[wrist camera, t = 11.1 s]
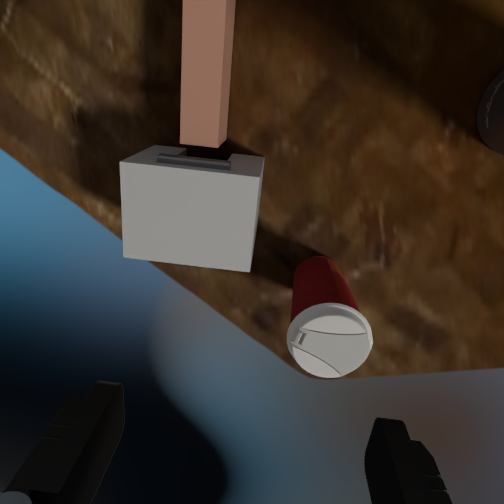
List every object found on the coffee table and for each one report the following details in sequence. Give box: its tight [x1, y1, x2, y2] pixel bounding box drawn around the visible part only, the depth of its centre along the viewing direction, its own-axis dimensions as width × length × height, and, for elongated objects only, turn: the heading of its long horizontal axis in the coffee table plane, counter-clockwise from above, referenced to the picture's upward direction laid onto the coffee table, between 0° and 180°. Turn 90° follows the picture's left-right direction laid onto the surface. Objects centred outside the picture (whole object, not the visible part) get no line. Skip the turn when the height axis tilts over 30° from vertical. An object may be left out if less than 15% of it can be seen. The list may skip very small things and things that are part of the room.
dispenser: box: [120, 145, 265, 272], centre depth 39 cm, size 12×10×10 cm
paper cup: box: [287, 256, 373, 378], centre depth 40 cm, size 8×8×14 cm
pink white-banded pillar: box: [180, 0, 236, 148], centre depth 35 cm, size 4×16×6 cm, turn 174°
